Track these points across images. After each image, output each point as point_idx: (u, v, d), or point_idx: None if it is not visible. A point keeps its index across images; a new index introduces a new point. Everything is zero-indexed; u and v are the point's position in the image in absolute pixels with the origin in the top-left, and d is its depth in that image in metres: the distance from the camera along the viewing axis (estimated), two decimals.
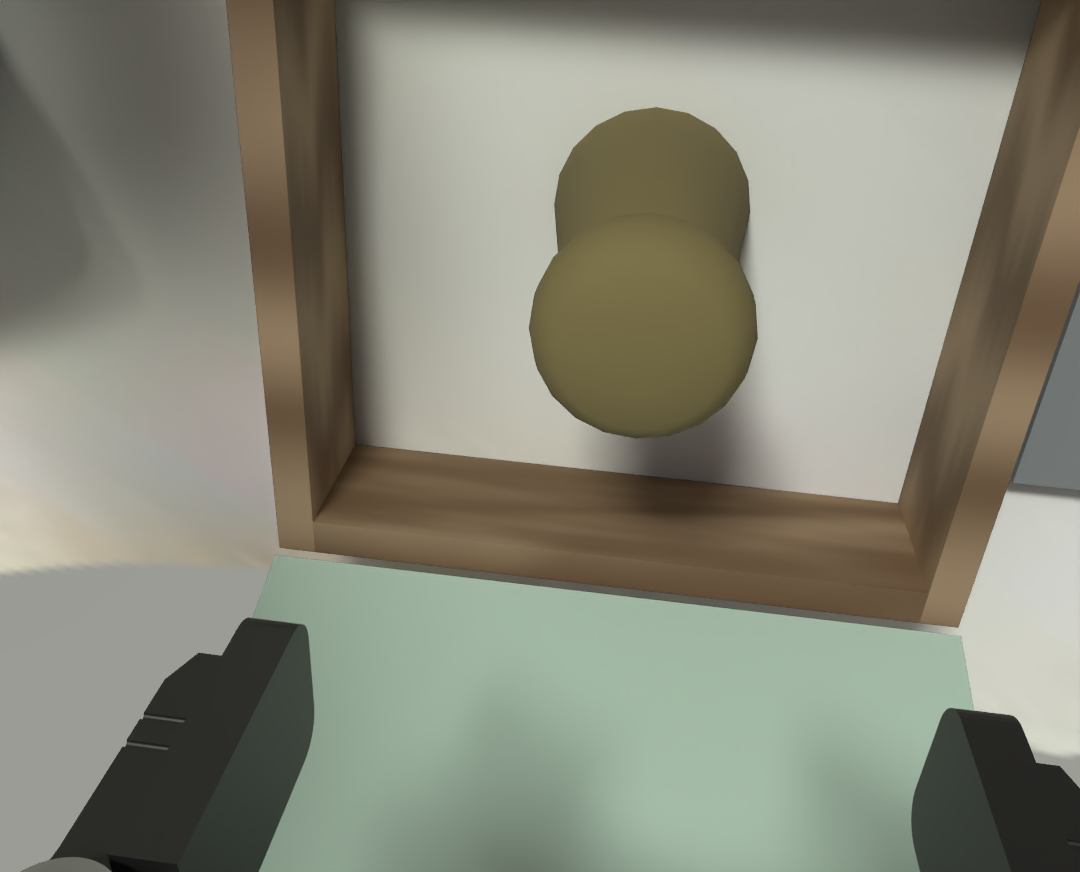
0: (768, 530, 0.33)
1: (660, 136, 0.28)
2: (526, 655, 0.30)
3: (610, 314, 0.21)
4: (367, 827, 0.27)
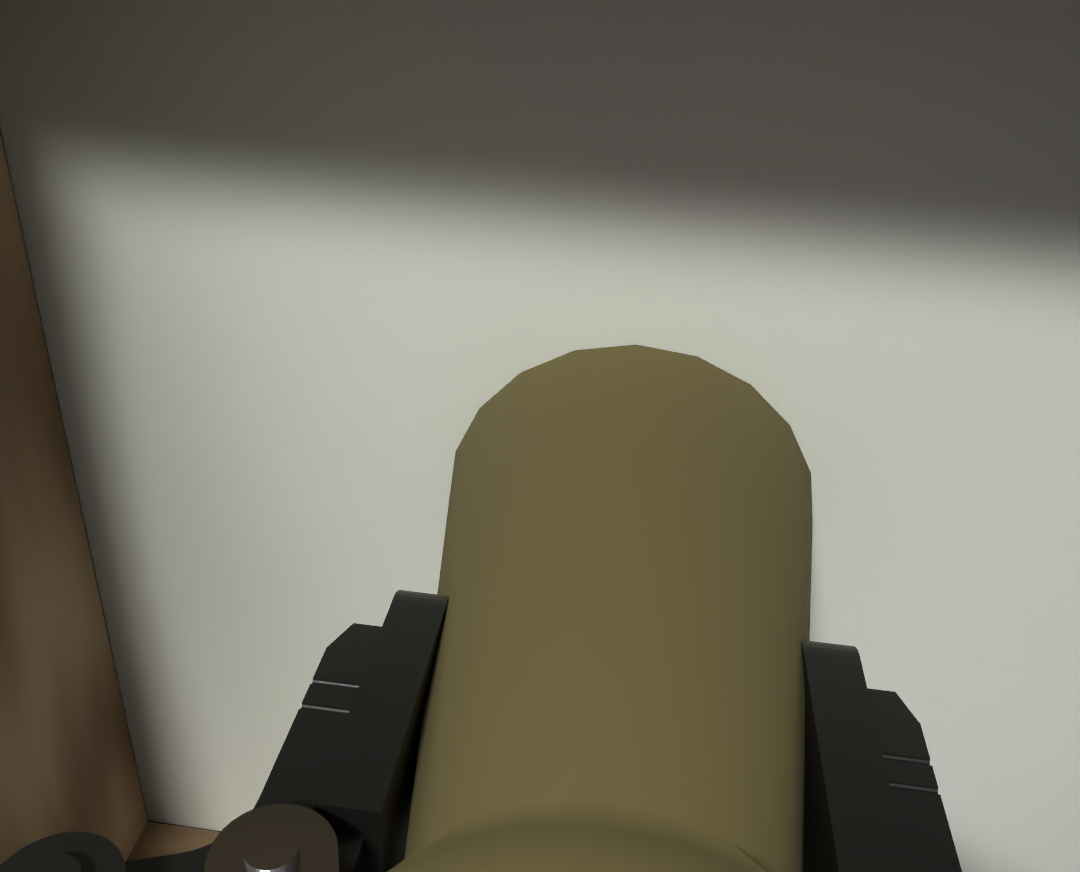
0: None
1: (640, 437, 0.13)
2: None
3: None
4: None
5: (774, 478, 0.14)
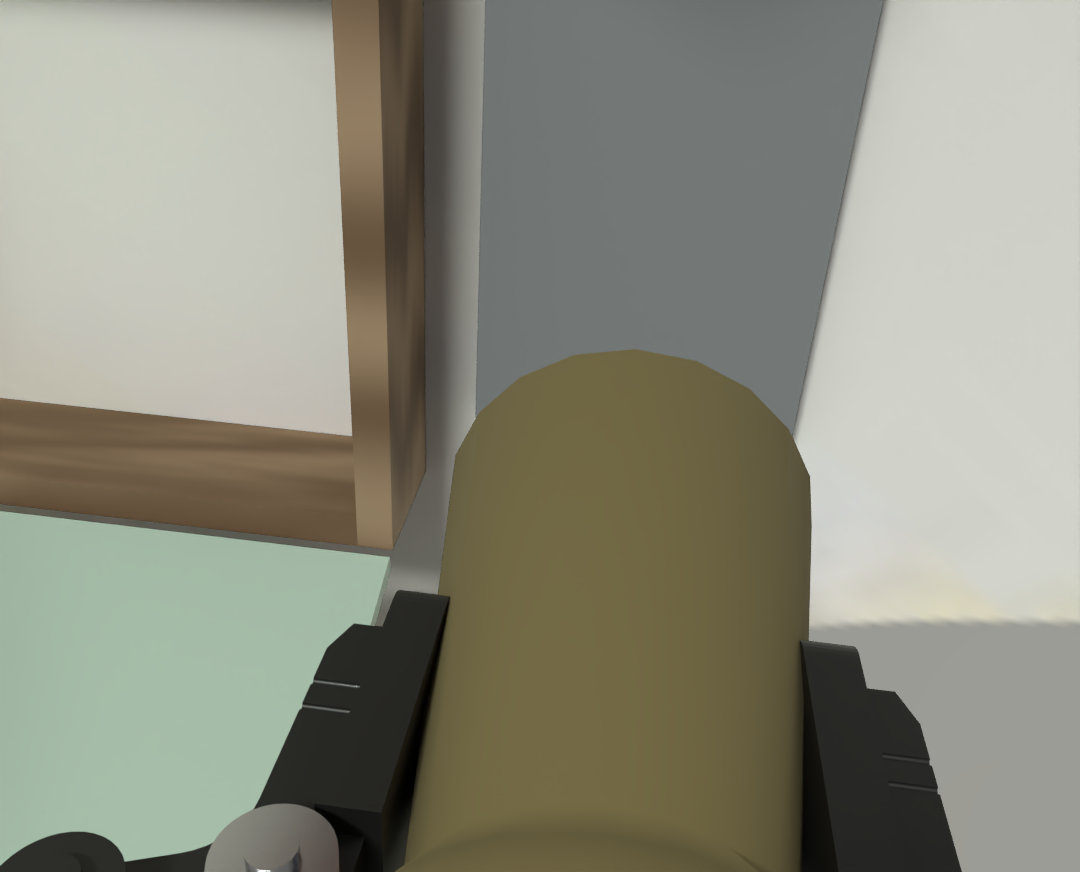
0: (245, 462, 0.35)
1: (640, 441, 0.13)
2: None
3: None
4: None
5: (773, 482, 0.14)
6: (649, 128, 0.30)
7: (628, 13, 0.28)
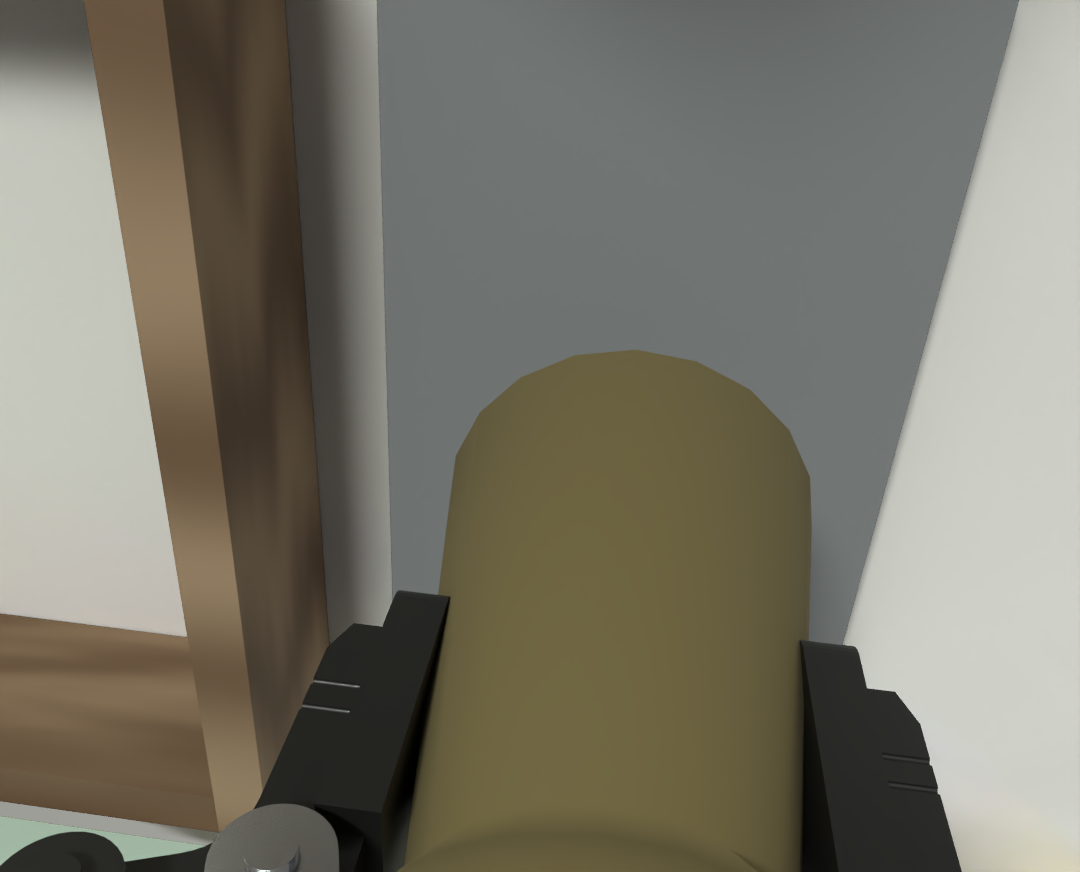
0: (72, 695, 0.25)
1: (639, 442, 0.13)
2: None
3: None
4: None
5: (773, 483, 0.14)
6: (631, 260, 0.20)
7: (598, 93, 0.18)
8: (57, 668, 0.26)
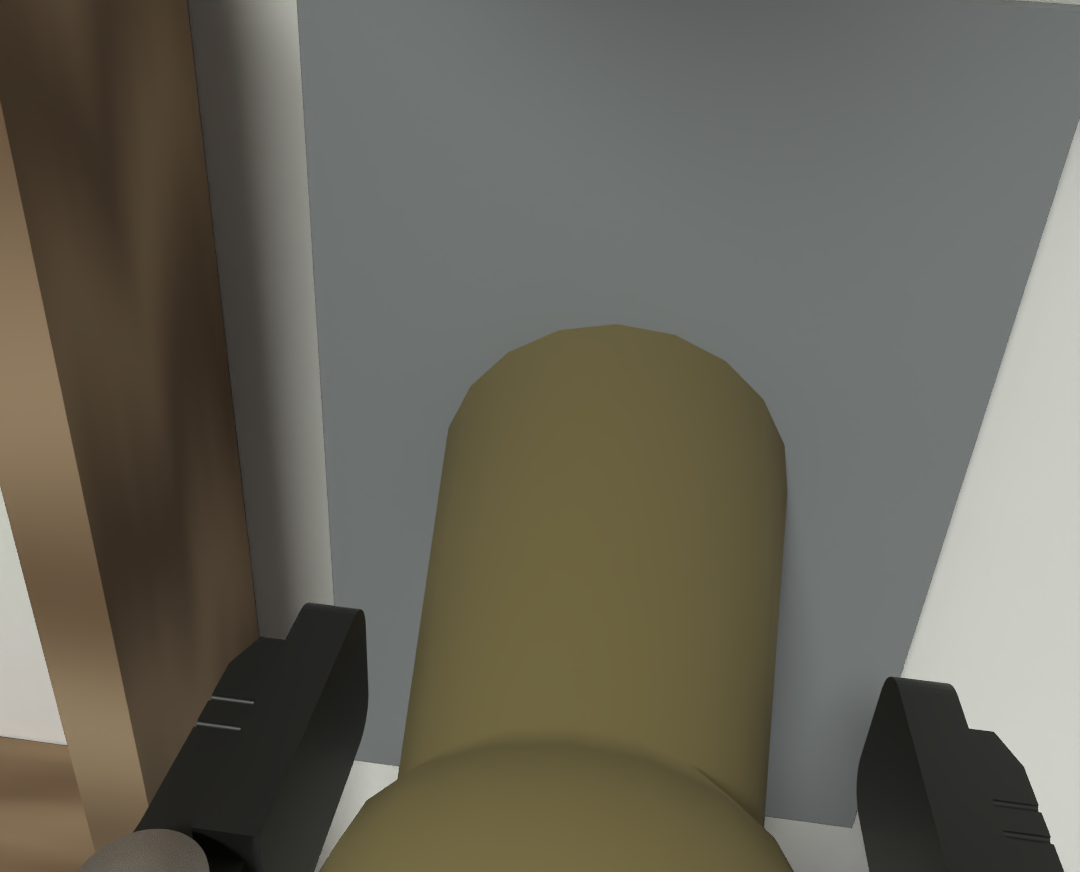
0: None
1: (618, 407, 0.14)
2: None
3: None
4: None
5: (746, 447, 0.15)
6: None
7: (574, 150, 0.15)
8: None
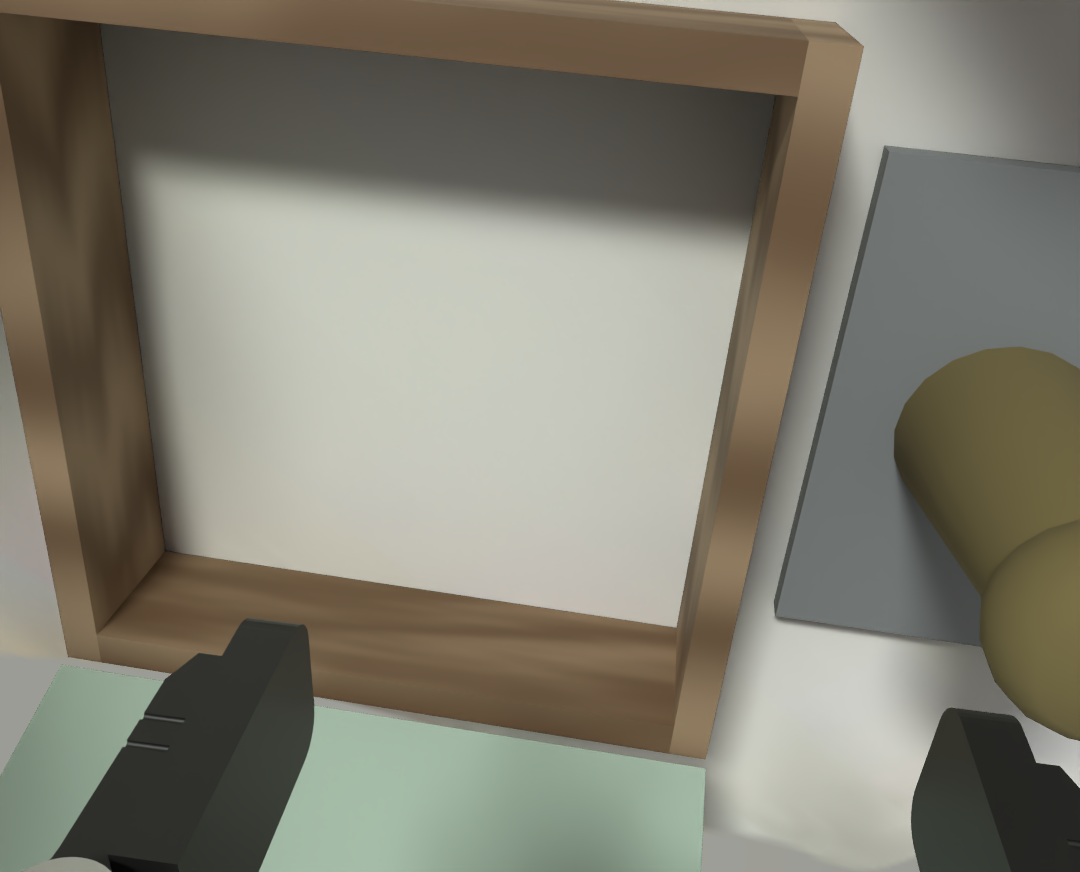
0: (539, 654, 0.35)
1: (1046, 389, 0.27)
2: None
3: None
4: None
5: None
6: None
7: (1017, 254, 0.28)
8: (518, 635, 0.35)
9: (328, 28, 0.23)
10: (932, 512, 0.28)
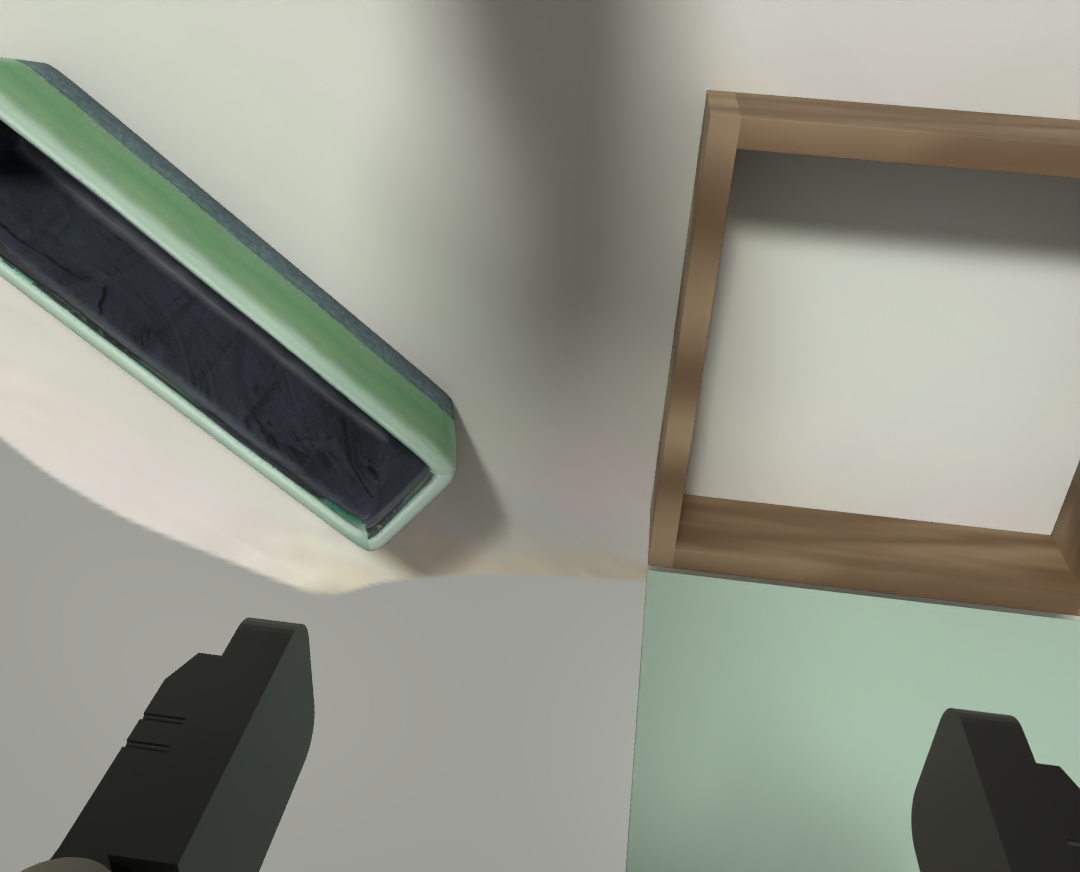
0: (970, 554, 0.50)
1: None
2: (827, 635, 0.47)
3: None
4: (753, 739, 0.44)
5: None
6: None
7: None
8: (948, 542, 0.51)
9: (961, 157, 0.38)
10: None
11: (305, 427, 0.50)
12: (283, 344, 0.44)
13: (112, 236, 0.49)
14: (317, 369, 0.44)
